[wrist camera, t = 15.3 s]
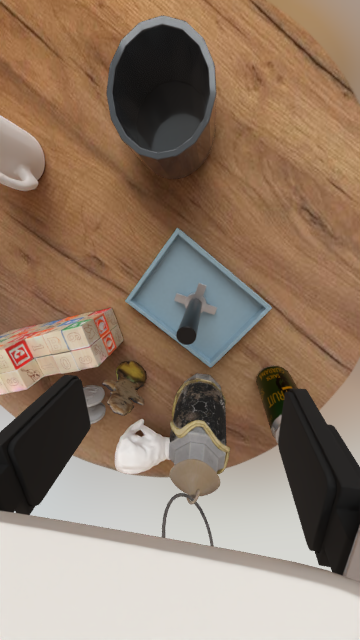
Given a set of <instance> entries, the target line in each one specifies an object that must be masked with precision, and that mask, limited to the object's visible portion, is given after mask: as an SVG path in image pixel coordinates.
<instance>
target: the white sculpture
mask: <svg viewBox="0 0 360 640" xmlns="http://www.w3.org/2000/svg"><path fill="white" fill-rule="evenodd" d="M139 430H141V431H142V432H143V434H144V436H142V437H140V436H139V435H137V434H135V433H136V432H137V431H139ZM169 443H170V437H163V436H162V435H160V434H157V433H156V432H154V431H153V430H152V429H150V428H148V427H147V426H145V425H144V420H143V419H140V420H138V421H137V422H136V423H134V424H132V425H131V426H130V427H129V428H128V429H127V430H126V431H125V433H124V434H123V435H122V436H121V437H120V441H119V443H118V444H117V449H116V453H115V467H116V469H117V471H119V472H122V473H125V474H138V473H140V472H144V471H147V470H149V469H150V468H151V467H153V466H155V465H158V464H159V463H160V462H161V461H164V460H165V459H167V460H170V459H169Z"/></svg>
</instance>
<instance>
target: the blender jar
mask: <svg viewBox="0 0 360 640" xmlns="http://www.w3.org/2000/svg"><path fill="white" fill-rule="evenodd" d="M107 99H108V104H109V110H110V116H111V120H112V122H113V124H114V126H115V128H116V129H117V131H118V133H119V135H120V137H121V139H122V140H123V142H124V143H125V144H126V145H127V146H128V147H129V148H130V149H131V150H132V152H133V153H134V154H135V155H136V156H137V157H138V158H139V159H140V160H141V162H142V163H143V164H144V165H146V166H147V167H148V168H149V169H150V170H151V171H152V172H153V173H155V174H157V175H158V176H161V177H163V178H167V179H179V178H183V177H186V176H188V175H190V174H192V173H193V172H195V171H196V170H197V169H198V168H199V167H200V166H201V165H202V164H203V163H204V161H205V160H206V158H207V157H208V155H209V153H210V150H211V148H212V145H213V141H214V136H215V131H216V78H215V66H214V62H213V60H212V57H211V55H210V52H209V50H208V48H207V45H206V43H205V40H204V39H203V38H202V37H201V36H200V35H199V34H198V33H197V32H196V31H195V30H194V29H193V28H192V27H191V26H190V25H189V24H188V23H187V22H186V21H183V20H179V19H175V18H171V17H167V16H164V15H163V16H159V17H155V18H152V19H149V20H146V21H142V22H140V23H139V24H138V25H136V26H135V27H134V28H133V29H132V30H131V31H130V32H129V33H128V34H127V35H126V36H125V37H124V38H123V39H122V41H121V42H120V44H119V46H118V49H117V51H116V53H115V55H114V57H113V59H112V62H111V64H110V68H109V77H108V85H107Z"/></svg>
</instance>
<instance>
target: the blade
mask: <svg viewBox="0 0 360 640" xmlns="http://www.w3.org/2000/svg"><path fill="white" fill-rule="evenodd" d="M206 286H207V285H204V284H201V283H199V284H198V286H197V289H196V292H193V293H191V294H189V295H188V296H184V295H181V294H178V293H176V296H175V299H174V301H177V302H179V303H182V304H185V308H186V311H185V313H184V316H183V318H182V321H181V323H180V326H179V328H178V331H177V334H176V337H177V339H178V341H179V342H180V343H182V344H184V345H190V344H192V343H193V342H194V341H195V340H196V336H197V331H198V325H199V320H200V314H201V313H202V312H203V311H205V312H207V313H210V314H213V315H215V312H216V310H217V307H215V306H212V305H209V304H207V303H206V298H205V296H204V295H203V294H204V292H205V289H206Z"/></svg>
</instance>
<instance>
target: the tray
mask: <svg viewBox="0 0 360 640" xmlns="http://www.w3.org/2000/svg"><path fill="white" fill-rule="evenodd" d="M199 283H201V284H204V285H207V286H206V289H205V292H204V294H203V295H204V296H205V298H206V303H207V304H209V305H212V306H215V307H217V310H216V312H215V315H213V314H210V313H207V312H205V311H203V312H202V313H201V314H200V320H199V325H198V331H197V336H196V340H195V341H194V342H193V343H192V344H190V345H184V344H182V343H180V342H179V341H178V339H177V337H176V334H177V331H178V328H179V326H180V323H181V321H182V318H183V316H184V313H185V311H186V308H185V304H182V303H179V302H177V301H174V299H175V296H176V293H178V294H181V295H184V296H188V295H189V294H191V293H193V292H196V289H197V286H198V284H199ZM125 301H126V302H127V303H128V304H129V305H131V306H132V307H133V308H134V309H136V310H137V311H138V312H140V313H141V314H142V315H143V316H145V317H146V318H147V319H149V320H150V321H151V322H152V323H154V324H155V325H156V326H158V327H159V328H160V329H161V330H163V331H164V332H165V333H167V334H168V335H169V336H170V337H172V338H173V339H174V340H176V341H177V342H178V343H179V344H181V345H182V346H183V347H184V348H186V349H187V350H188V351H190V352H191V353H192V354H193V355H195V356H196V357H197V358H199V359H200V360H201V361H202V362H204V363H205V364H206V365H208V366H209V367H210V368H211V367H212V366H213V365H214V364H215V363H216V362H217V361H218V360H220V359H221V358H222V357H223V356H224V355H225V354H226V353H227V352H228V351H229V350H230V349H231V348H232V347H233V346H234V345H235V344H236V343H237V342H238V341H239V340H240V339H241V338H242V337H243V336H244V335H245V334H246V333H247V332H248V331H249V330H250V329H251V328H252V327H253V326H254V325H255V324H256V323H257V322H258V321H259V320H260V319H262V318H263V317H264V316H265V315H266V314H267V313H268V312H269V311H270V310H271V309H272V307H271V306H270V305H269V304H268V303H267V302H266V301H264V300H263V299H262V298H261V297H260V296H259V295H257V294H256V293H255V292H254V291H253V290H251V289H250V288H249V287H248V286H247V285H246V284H244V283H243V282H242V281H241V280H240V279H238V278H237V277H236V276H235V275H234V274H232V273H231V272H230V271H229V270H228V269H227V268H225V267H224V266H223V265H222V264H221V263H219V262H218V261H217V260H216V259H215V258H214V257H212V256H211V255H210V254H209V253H208V252H206V251H205V250H204V249H203V248H202V247H201V246H199V245H198V244H197V243H196V242H195V241H193V240H192V239H191V238H190V237H189V236H188V235H186V234H185V233H184V232H183V231H182V230H180V229H179V228H177V229H176V230H175V231H174V233H173V234H172V236H171V237H170V238H169V240H168V241H167V243H166V244H165V246H164V247H163V248H162V250H161V251H160V253H159V254H158V255H157V257H156V258H155V260H154V261H153V262H152V264H151V265H150V267H149V268H148V269H147V271H146V272H145V274H144V275H143V277H142V278H141V279H140V281H139V282H138V284H137V285H136V286H135V288H134V289H133V291H132V292H131V293H130V295H129V296H128V298H127V299H126V300H125Z"/></svg>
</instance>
